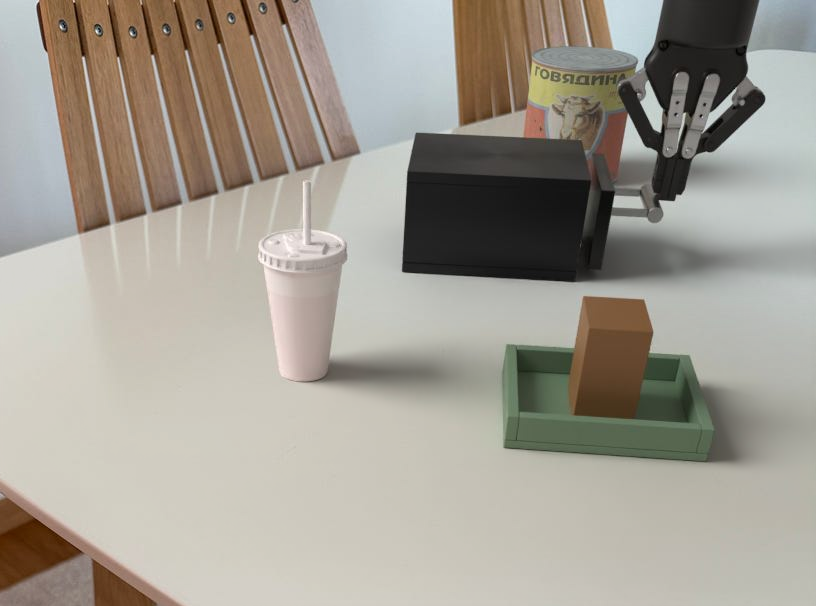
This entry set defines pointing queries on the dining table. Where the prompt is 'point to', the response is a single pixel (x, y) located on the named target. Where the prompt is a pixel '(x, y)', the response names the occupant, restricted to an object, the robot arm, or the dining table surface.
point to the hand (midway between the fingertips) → (665, 198)
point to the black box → (495, 206)
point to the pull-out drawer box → (610, 209)
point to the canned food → (580, 99)
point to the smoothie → (303, 293)
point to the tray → (641, 437)
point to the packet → (609, 357)
